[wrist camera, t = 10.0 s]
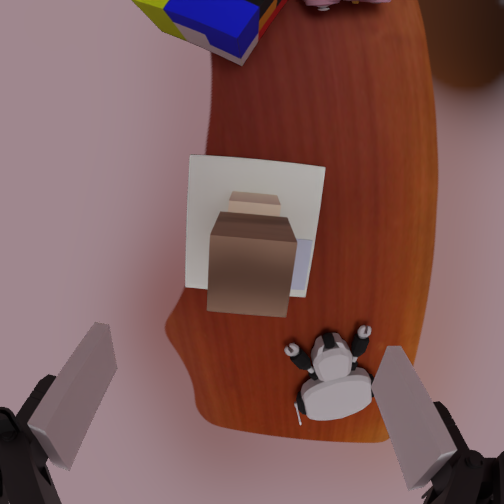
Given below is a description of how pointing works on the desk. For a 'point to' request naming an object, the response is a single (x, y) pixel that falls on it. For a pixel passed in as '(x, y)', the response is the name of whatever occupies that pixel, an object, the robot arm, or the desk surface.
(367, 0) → the video game controller
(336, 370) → the robot toy
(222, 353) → the desk surface
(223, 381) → the desk surface
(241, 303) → the walnut block
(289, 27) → the desk surface
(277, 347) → the desk surface
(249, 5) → the puzzle toy
